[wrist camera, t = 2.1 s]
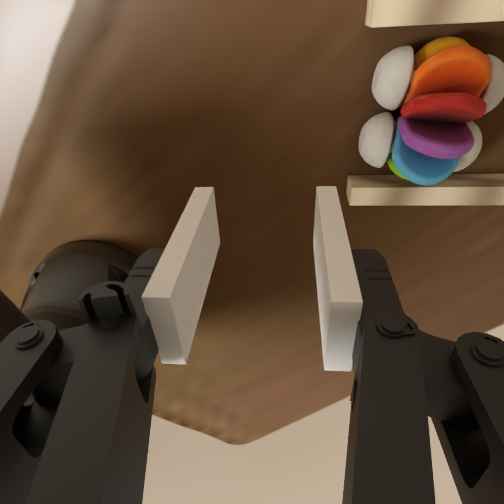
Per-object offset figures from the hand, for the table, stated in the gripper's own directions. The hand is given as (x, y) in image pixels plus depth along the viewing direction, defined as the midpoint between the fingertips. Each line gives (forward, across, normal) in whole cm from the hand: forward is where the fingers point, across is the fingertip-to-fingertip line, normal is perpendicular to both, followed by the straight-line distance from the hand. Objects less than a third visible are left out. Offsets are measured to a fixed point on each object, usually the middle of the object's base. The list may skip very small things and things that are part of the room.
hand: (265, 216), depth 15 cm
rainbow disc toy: (+17, +11, 0) cm, 20 cm away
